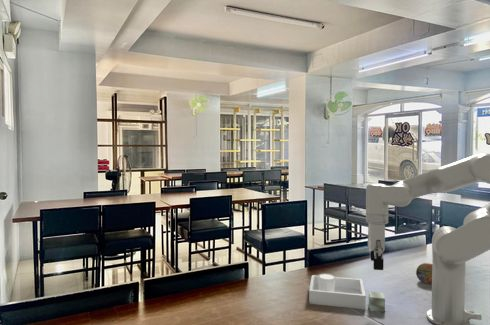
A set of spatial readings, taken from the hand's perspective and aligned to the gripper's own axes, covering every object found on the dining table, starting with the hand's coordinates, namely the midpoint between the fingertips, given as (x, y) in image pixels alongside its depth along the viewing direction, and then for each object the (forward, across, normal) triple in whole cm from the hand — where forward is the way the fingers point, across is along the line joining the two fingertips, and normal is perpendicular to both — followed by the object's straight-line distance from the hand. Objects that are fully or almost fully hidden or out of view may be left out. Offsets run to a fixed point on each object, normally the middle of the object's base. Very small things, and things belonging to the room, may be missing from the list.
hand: (376, 264), depth 125 cm
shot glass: (+15, -6, -18) cm, 24 cm away
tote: (+16, -6, -14) cm, 22 cm away
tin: (+16, -29, +27) cm, 43 cm away
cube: (+16, 0, 0) cm, 16 cm away
